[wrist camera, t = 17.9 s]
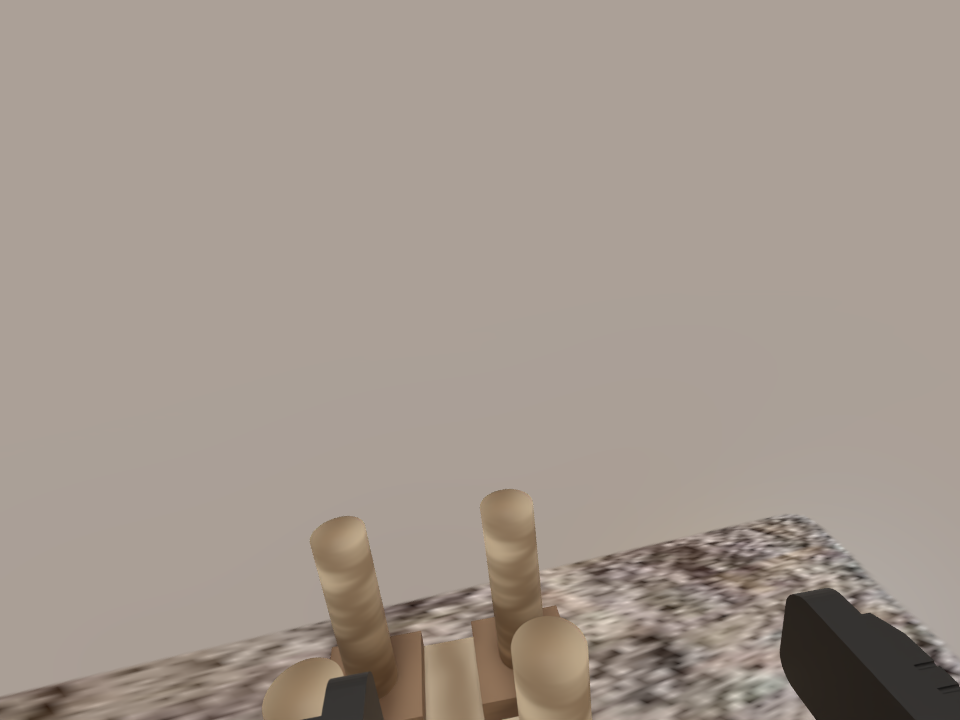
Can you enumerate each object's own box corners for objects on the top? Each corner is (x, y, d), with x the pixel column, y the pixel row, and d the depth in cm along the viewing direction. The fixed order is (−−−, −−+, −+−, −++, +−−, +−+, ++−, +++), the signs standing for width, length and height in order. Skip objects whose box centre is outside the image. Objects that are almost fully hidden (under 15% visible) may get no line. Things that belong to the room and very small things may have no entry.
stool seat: (293, 1038, 27) (183, 804, 21) (341, 688, 46) (292, 508, 39) (658, 948, 29) (660, 705, 22) (560, 645, 47) (547, 466, 41)
